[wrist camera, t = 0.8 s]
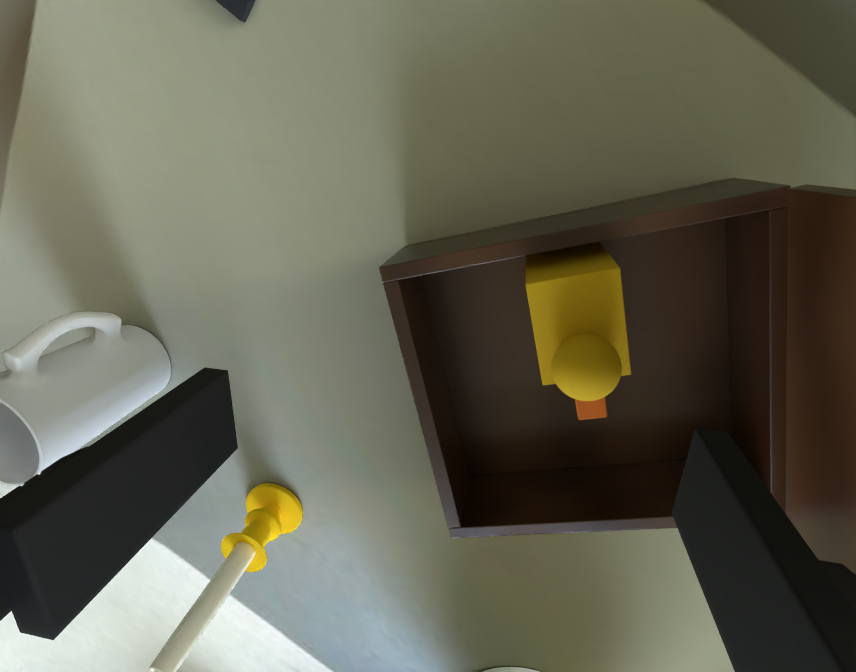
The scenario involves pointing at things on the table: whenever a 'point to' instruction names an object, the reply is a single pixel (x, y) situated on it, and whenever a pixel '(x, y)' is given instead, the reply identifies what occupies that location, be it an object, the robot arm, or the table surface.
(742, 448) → the chest
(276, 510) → the candle
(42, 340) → the mug
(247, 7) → the coaster
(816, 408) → the lid
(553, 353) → the duck
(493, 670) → the decorative vase
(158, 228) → the table surface
